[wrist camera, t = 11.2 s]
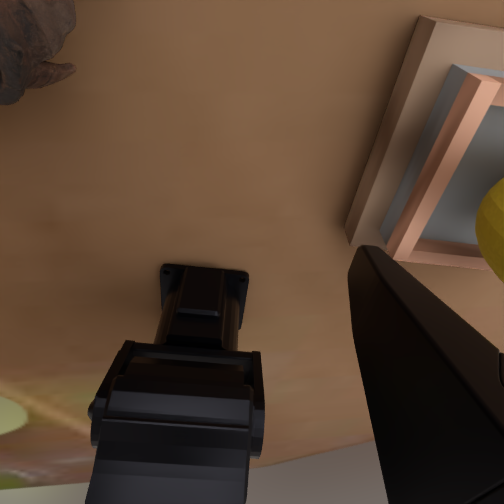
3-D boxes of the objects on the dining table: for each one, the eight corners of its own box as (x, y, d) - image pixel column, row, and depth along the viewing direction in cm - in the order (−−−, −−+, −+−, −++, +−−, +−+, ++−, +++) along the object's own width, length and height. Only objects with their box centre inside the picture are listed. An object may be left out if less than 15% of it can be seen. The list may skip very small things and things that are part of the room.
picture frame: (513, 245, 25) (556, 296, 21) (344, 227, 24) (359, 275, 20) (660, 52, 17) (767, 79, 14) (419, 15, 16) (465, 32, 13)
